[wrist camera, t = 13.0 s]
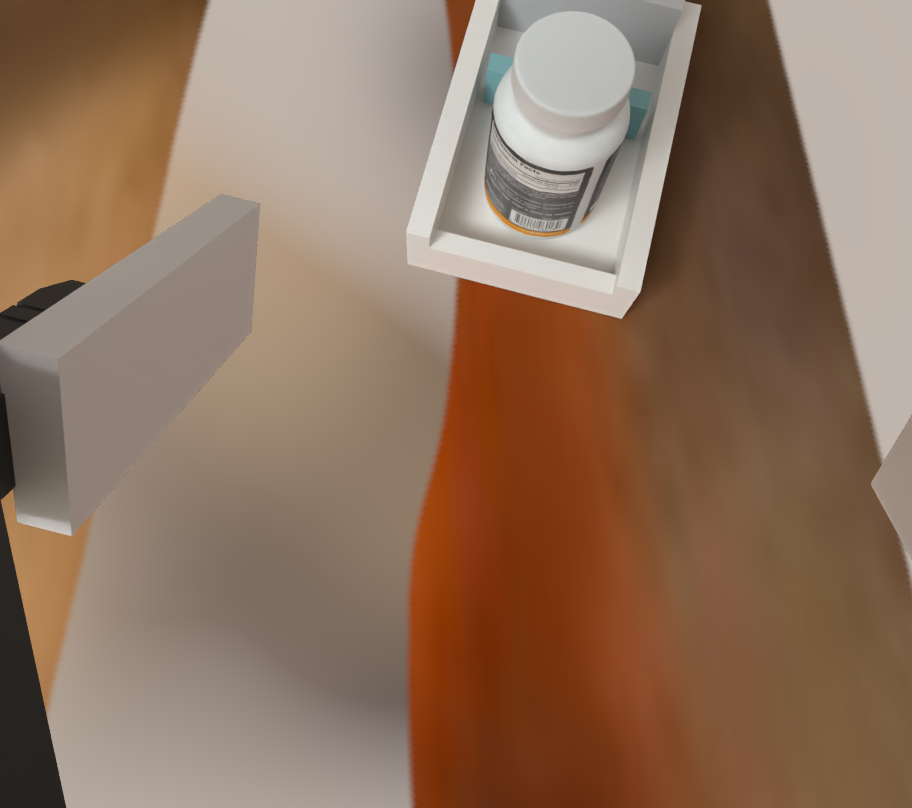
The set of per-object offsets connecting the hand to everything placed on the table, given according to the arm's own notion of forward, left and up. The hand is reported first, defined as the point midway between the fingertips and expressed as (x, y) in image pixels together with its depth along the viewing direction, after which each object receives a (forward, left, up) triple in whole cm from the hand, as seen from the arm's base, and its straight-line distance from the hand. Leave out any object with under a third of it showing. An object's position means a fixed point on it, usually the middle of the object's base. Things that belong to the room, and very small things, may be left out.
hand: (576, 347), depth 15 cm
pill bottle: (-4, +15, -21) cm, 26 cm away
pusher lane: (-4, +18, -22) cm, 28 cm away
